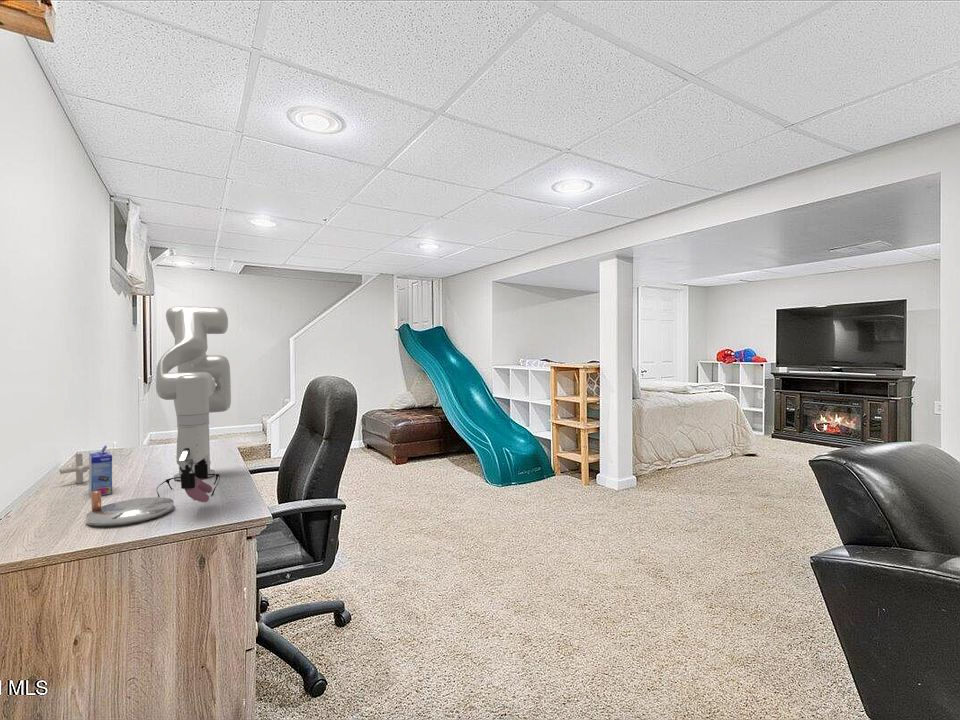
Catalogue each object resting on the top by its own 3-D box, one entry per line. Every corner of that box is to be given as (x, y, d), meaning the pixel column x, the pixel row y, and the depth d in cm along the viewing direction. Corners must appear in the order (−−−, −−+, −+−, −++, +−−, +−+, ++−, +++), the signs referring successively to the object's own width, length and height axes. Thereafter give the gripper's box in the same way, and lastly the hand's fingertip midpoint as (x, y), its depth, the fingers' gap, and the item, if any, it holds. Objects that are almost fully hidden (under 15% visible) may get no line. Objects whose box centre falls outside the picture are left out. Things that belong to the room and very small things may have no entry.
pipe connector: (92, 477, 172) (92, 449, 172) (103, 481, 166) (102, 452, 166) (56, 484, 164) (55, 454, 164) (65, 488, 158) (64, 458, 158)
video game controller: (197, 498, 138) (184, 478, 136) (214, 489, 139) (200, 469, 138) (193, 510, 129) (178, 488, 127) (210, 500, 130) (196, 478, 129)
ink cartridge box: (113, 494, 151) (112, 447, 151) (91, 497, 147) (89, 450, 147) (110, 487, 158) (109, 443, 158) (88, 491, 155) (87, 445, 154)
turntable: (111, 505, 138) (110, 482, 138) (185, 500, 142) (184, 478, 141) (68, 529, 119) (67, 502, 119) (154, 522, 123) (153, 497, 123)
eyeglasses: (222, 484, 162) (221, 472, 162) (217, 497, 147) (217, 484, 147) (163, 490, 155) (163, 478, 155) (153, 504, 141) (153, 491, 141)
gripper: (190, 415, 140) (192, 475, 141) (163, 426, 123) (165, 493, 124) (219, 414, 141) (220, 473, 142) (196, 425, 124) (198, 492, 125)
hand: (195, 482), depth 133 cm, fingers closed on video game controller, 8 cm apart
